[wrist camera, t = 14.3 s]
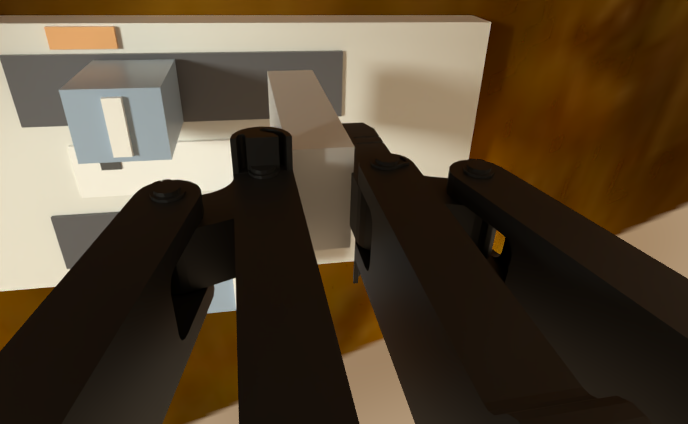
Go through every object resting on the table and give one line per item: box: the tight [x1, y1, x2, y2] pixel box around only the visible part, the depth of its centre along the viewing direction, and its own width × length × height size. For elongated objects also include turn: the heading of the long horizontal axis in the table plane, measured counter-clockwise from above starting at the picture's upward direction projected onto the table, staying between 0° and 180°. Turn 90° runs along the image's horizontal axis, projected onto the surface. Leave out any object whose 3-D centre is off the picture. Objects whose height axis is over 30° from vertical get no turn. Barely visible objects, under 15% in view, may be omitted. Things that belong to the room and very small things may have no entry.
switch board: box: [0, 15, 491, 291], centre depth 23 cm, size 26×12×2 cm, turn 89°
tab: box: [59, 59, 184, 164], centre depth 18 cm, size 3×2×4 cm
